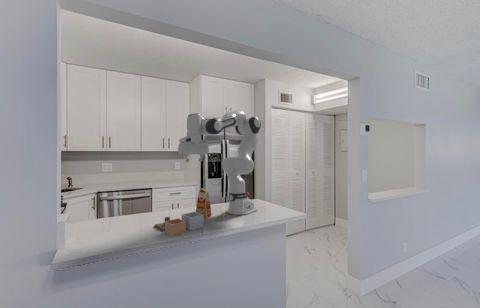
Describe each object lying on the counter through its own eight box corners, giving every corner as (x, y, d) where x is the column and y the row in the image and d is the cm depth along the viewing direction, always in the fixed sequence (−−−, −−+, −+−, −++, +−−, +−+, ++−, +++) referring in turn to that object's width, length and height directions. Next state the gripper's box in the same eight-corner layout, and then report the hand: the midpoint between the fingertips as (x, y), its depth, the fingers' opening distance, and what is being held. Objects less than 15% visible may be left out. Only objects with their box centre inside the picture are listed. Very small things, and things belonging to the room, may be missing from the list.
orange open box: (178, 228, 133) (178, 218, 133) (185, 232, 128) (185, 221, 127) (164, 232, 128) (164, 221, 128) (171, 236, 122) (171, 224, 122)
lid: (171, 222, 144) (171, 214, 144) (179, 226, 137) (179, 217, 136) (155, 225, 137) (155, 217, 137) (163, 230, 130) (162, 221, 130)
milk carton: (207, 219, 150) (207, 188, 150) (193, 219, 152) (193, 188, 152) (212, 215, 159) (212, 186, 159) (199, 215, 161) (199, 185, 161)
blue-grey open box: (195, 223, 144) (194, 211, 144) (203, 226, 137) (203, 214, 137) (181, 226, 138) (181, 214, 137) (189, 230, 131) (189, 217, 131)
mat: (171, 222, 145) (171, 221, 145) (180, 227, 137) (180, 226, 137) (153, 226, 137) (153, 225, 137) (162, 231, 129) (162, 230, 129)
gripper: (204, 140, 157) (205, 160, 157) (176, 139, 143) (177, 162, 143) (210, 139, 152) (210, 161, 153) (182, 138, 138) (182, 162, 139)
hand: (194, 161), depth 148 cm, fingers open, 8 cm apart
